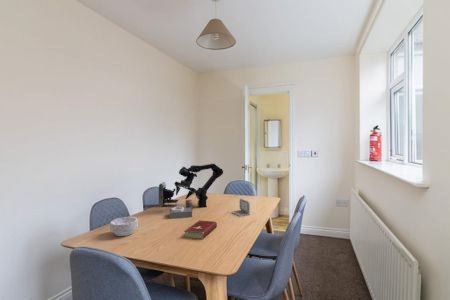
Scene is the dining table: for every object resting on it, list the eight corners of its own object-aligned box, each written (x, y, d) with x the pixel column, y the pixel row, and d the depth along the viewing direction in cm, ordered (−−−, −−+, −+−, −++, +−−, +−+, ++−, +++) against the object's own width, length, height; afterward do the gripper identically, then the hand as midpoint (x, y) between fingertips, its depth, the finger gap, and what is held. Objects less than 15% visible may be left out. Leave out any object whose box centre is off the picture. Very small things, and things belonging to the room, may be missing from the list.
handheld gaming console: (230, 212, 191) (230, 199, 190) (241, 210, 195) (240, 198, 195) (239, 216, 179) (239, 202, 179) (250, 214, 183) (250, 201, 183)
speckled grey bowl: (123, 239, 138) (122, 225, 138) (104, 235, 145) (104, 222, 145) (143, 231, 151) (143, 218, 151) (125, 227, 158) (125, 215, 158)
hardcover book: (217, 227, 157) (216, 221, 157) (203, 239, 137) (203, 232, 137) (199, 226, 161) (199, 219, 161) (184, 237, 141) (183, 230, 141)
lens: (192, 209, 202) (191, 199, 202) (192, 211, 197) (192, 200, 197) (185, 209, 201) (185, 200, 201) (185, 211, 196) (185, 201, 196)
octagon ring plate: (190, 212, 192) (190, 205, 192) (192, 216, 180) (192, 209, 180) (169, 214, 189) (169, 206, 189) (169, 218, 177) (169, 210, 177)
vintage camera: (176, 207, 212) (176, 183, 212) (158, 206, 212) (158, 183, 212) (178, 204, 221) (179, 182, 221) (161, 204, 222) (161, 182, 222)
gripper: (176, 172, 199) (167, 190, 194) (195, 180, 193) (187, 199, 188) (181, 177, 209) (172, 194, 204) (200, 184, 203) (192, 202, 198)
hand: (180, 197), depth 198 cm, fingers open, 9 cm apart
